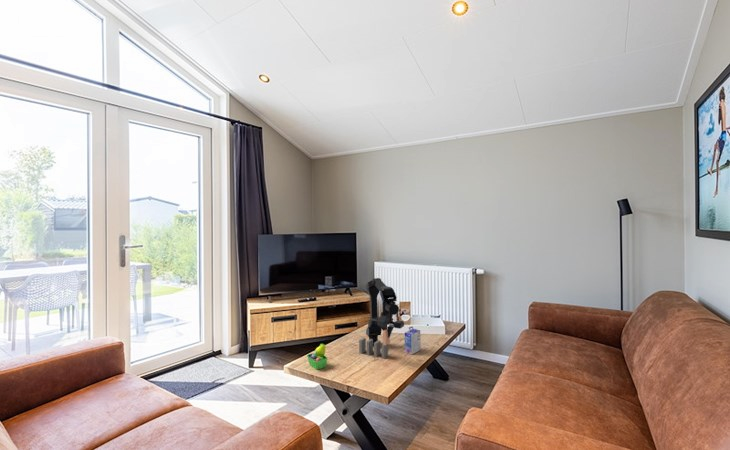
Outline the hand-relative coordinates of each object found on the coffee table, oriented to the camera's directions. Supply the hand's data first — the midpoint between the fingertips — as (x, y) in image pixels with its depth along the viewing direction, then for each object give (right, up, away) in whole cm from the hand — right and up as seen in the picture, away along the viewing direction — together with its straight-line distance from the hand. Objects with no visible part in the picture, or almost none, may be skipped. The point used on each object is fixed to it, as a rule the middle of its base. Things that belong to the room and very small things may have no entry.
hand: (387, 337), depth 193 cm
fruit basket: (-39, -14, -7) cm, 41 cm away
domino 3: (-6, -13, +7) cm, 15 cm away
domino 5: (-1, -13, +4) cm, 14 cm away
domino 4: (-1, -3, -1) cm, 4 cm away
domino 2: (-10, -13, +9) cm, 19 cm away
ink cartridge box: (+16, -13, +13) cm, 24 cm away
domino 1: (-14, -13, +12) cm, 22 cm away
